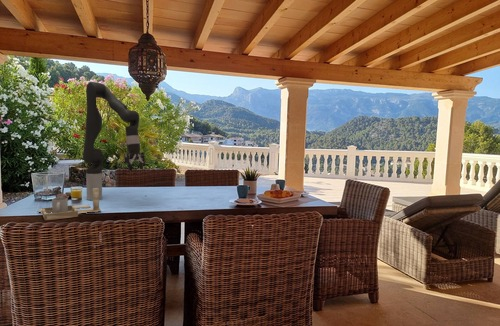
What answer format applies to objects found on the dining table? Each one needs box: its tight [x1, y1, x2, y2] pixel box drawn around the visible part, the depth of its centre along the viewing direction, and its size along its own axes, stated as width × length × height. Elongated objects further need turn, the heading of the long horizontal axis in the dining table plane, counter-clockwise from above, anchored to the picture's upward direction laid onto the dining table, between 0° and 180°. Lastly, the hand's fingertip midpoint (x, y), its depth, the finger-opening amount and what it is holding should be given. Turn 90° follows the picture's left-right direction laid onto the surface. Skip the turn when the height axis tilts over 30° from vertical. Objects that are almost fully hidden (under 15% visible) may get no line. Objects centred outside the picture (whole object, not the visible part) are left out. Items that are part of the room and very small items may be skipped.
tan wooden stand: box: [41, 188, 102, 221], centre depth 180 cm, size 15×28×13 cm, turn 127°
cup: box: [51, 197, 69, 213], centre depth 176 cm, size 7×10×9 cm
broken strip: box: [37, 204, 91, 213], centre depth 189 cm, size 5×26×1 cm, turn 127°
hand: (136, 170), depth 201 cm, fingers open, 8 cm apart
